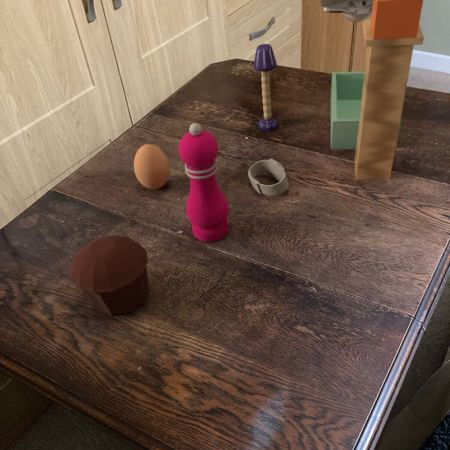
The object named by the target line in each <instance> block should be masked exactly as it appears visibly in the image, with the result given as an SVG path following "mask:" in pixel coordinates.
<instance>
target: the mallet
mask: <svg viewBox="0 0 450 450" xmlns="http://www.w3.org/2000/svg"><path fill="white" fill-rule="evenodd" d="M423 4H424V0H373V8H372V14H371V17H370V20H371V29H372V36H373V39H391V38H413V37H417V32H418V26H419V25H420V21H421V14H422V8H423Z"/></svg>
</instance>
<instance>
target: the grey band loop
mask: <svg viewBox="0 0 450 450" xmlns="http://www.w3.org/2000/svg"><path fill="white" fill-rule="evenodd" d="M263 173H269V174H271V175H272V176H273V177H274V178H275V179H276V181H278V182H277V183H274V184H269V185H268V184H262V183H260V181H259V180H257V179H255V178H256V177H257V176H259V175H261V174H263ZM247 176H248V179H249V181H250V183H251V186H252V187H253V189H254V190H255V191H256V192H257V193H258V194H259V195H262V194H263V195H266V196H277V195H281V194H283V193H284V192H287V190H288V189H289V187H290V184H289V179H288V176H287V172H286V170H285V168H284V167H283V165H282V164H281V163H280V162H278V161H277V160H275V159H274V158H272V157H271V158H269V159H262V160H259V161H256V162H254V163H253V164H252V165H250V167H249V168H248V170H247Z"/></svg>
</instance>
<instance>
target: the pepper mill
mask: <svg viewBox="0 0 450 450" xmlns="http://www.w3.org/2000/svg"><path fill="white" fill-rule="evenodd" d="M178 155H179V158H180V160H181V162H183V163H184V169H185V174H186V175H187V177H189V180H190V181H189V182H190V189H189V193H188V197H187V200H186V207H185V211H186V217H187V219H188V221H189V222H190V223H191V229H192V233H193V234H192V235H193V236H194V237H195V238H196V239H198V240H199V241H202V242H205V243H206V242H208V243H211V242H215V241H218V240H219V241H220V240H221V239H222V238H224V237H225V236H226V235H227V234H228V232H229V221H228V217H229V213H230V206H229V202H228V200H227V197H226V195H225V194H224V193H223V191H222V190H221V188H220V187H219V185H218V181H217V177H216V173H217V172H218V164H217V163H218V161H217V157H218V155H219V145H218V141H217V139H216V137H215V136H214V135H213V134H212V133H211V132H208V131H207V130H204V129H202V126H201V124H200V123H198V122H193V123H191V124H190V126H189V131H188V132H187V133H186V134H184V135H183V136H182V137H181V138H180V141H179V143H178Z"/></svg>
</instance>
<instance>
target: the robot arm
mask: <svg viewBox="0 0 450 450" xmlns="http://www.w3.org/2000/svg"><path fill="white" fill-rule="evenodd" d="M318 4H319V5H320V7H321V8H323V12H324V13H326V14H342V16H343V17H344V18H345V19H346V20H347V21H349V22H353V23H358V22H363V20H367V19H368V18H369V17H370V16H372V8H373V0H318Z"/></svg>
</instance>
